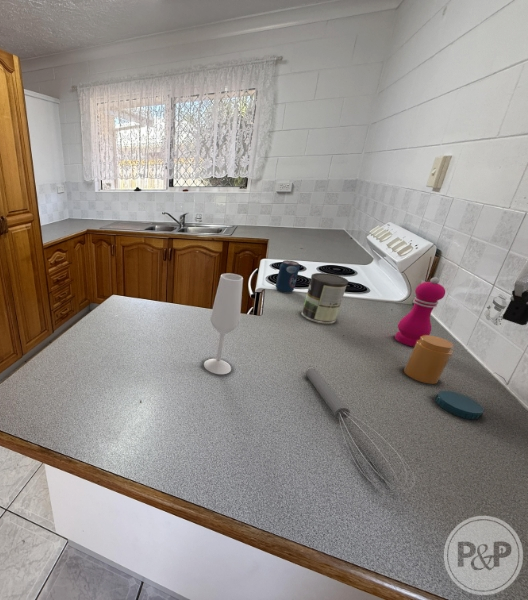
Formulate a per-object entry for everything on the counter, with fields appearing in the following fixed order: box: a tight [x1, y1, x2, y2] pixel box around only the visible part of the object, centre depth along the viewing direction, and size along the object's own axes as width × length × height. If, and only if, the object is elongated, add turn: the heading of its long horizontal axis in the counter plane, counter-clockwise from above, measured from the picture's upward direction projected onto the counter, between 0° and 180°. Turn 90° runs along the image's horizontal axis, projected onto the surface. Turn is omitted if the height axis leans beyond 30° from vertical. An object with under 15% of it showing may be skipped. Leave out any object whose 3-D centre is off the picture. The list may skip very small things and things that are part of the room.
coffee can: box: [301, 272, 349, 325], centre depth 103 cm, size 10×10×14 cm
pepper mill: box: [394, 276, 446, 347], centre depth 88 cm, size 7×7×20 cm
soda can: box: [275, 259, 300, 294], centre depth 126 cm, size 7×7×12 cm
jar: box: [403, 335, 454, 385], centre depth 75 cm, size 6×6×10 cm
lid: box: [435, 390, 485, 420], centre depth 66 cm, size 7×7×2 cm
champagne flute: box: [203, 273, 244, 375], centre depth 74 cm, size 7×7×24 cm
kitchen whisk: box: [305, 365, 416, 497], centre depth 61 cm, size 6×34×6 cm, turn 172°
